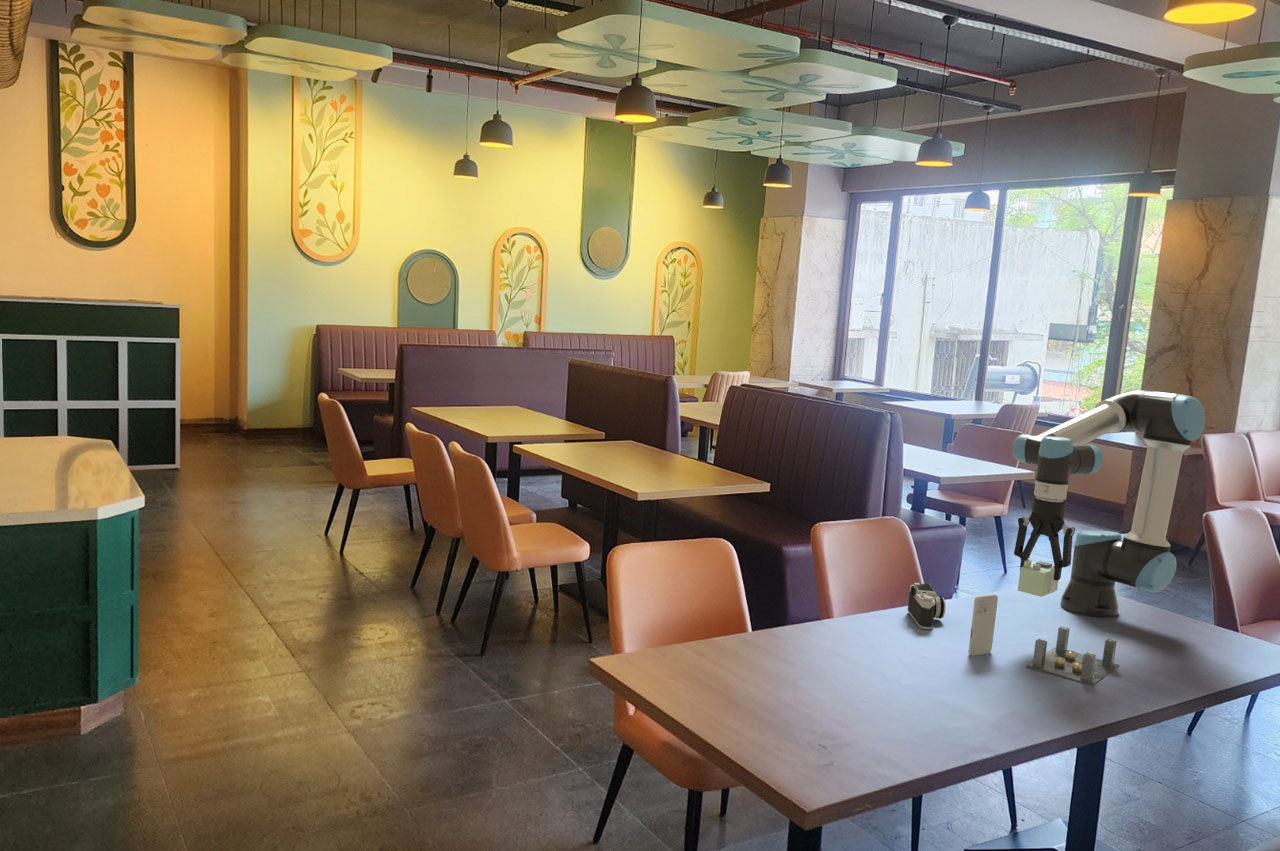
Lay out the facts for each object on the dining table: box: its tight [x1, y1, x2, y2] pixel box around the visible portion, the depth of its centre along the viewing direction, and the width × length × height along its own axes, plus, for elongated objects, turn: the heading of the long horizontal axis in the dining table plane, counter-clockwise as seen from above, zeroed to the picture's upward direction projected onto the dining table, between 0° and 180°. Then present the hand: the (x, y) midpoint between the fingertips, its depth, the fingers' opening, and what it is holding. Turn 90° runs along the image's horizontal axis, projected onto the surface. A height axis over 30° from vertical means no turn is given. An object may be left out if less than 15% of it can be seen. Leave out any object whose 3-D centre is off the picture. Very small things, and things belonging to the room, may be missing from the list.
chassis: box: [1026, 625, 1120, 687], centre depth 234 cm, size 19×15×7 cm
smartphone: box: [968, 593, 999, 657], centre depth 239 cm, size 7×1×15 cm, turn 118°
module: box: [1017, 560, 1059, 598], centre depth 247 cm, size 10×6×7 cm, turn 136°
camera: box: [907, 582, 947, 630], centre depth 264 cm, size 16×9×10 cm, turn 178°
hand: (1038, 588), depth 247 cm, fingers closed on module, 6 cm apart
